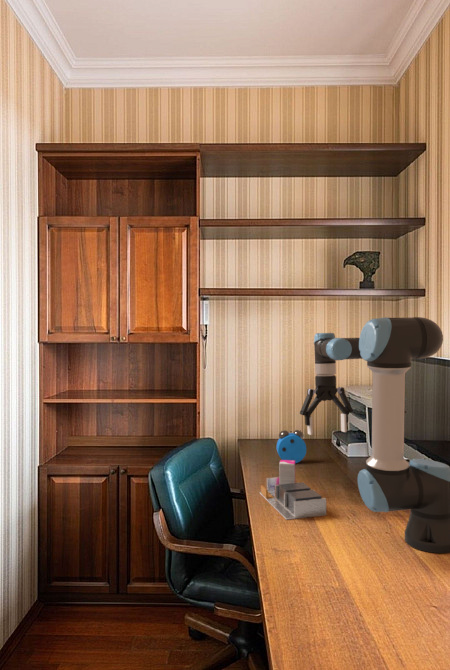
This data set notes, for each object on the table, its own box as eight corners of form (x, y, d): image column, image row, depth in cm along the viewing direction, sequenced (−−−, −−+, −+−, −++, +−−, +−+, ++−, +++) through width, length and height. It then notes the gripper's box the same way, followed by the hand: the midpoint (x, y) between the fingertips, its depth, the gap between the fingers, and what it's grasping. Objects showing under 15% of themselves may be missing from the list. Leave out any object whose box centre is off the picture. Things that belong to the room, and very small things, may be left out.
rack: (326, 515, 176) (326, 497, 176) (286, 519, 172) (285, 501, 172) (294, 489, 204) (294, 474, 204) (259, 493, 200) (259, 477, 200)
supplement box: (295, 495, 194) (294, 463, 194) (278, 494, 195) (278, 463, 195) (296, 490, 200) (295, 459, 200) (280, 489, 201) (279, 459, 201)
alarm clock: (304, 460, 247) (304, 428, 247) (307, 464, 241) (306, 431, 241) (276, 461, 247) (275, 429, 247) (278, 464, 241) (277, 431, 240)
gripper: (350, 372, 201) (352, 428, 201) (289, 375, 194) (291, 433, 194) (361, 374, 194) (362, 432, 194) (298, 377, 187) (299, 437, 187)
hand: (327, 433), depth 194 cm, fingers open, 13 cm apart
